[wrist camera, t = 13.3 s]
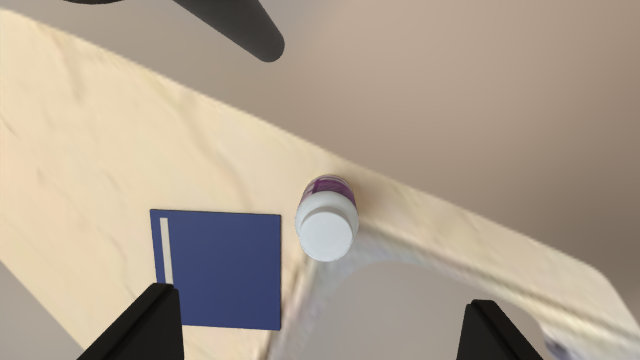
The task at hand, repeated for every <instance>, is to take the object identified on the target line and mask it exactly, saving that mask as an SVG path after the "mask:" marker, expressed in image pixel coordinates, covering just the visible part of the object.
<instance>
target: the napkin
mask: <svg viewBox="0 0 640 360" xmlns="http://www.w3.org/2000/svg"><path fill="white" fill-rule="evenodd" d="M150 219H151V229H152V238H153V248H154V258H155V268H156V278H157V283H170V284H173V286H174V288H176V289H178V291H179V298H180V310H181V322H182V325H190V326H208V327H225V328H243V329H260V330H278V331H280V215H270V214H247V213H224V212H200V211H177V210H154V209H151V210H150Z"/></svg>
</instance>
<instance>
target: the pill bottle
mask: <svg viewBox="0 0 640 360" xmlns="http://www.w3.org/2000/svg"><path fill="white" fill-rule="evenodd" d="M358 227H359V216H358V212H357V208H356V203H355V199H354V194H353V191H352V189H351V187H350V186H349V184H348V183H347V182H346V181H344V180H343V179H342V178H340V177H337V176H333V175H323V176H320V177H317V178H315V179H314V180H312V181H311V182H310V183H309V184H308V185H307V187H306V189H305V191H304V193H303V196H302V198H301V201H300V203H299V206H298V209H297V211H296V215H295V229H296V232H297V235H298V237H299V240H300V244H301V246H302V248H303V250H304V251H305V252H306V253H307V254H308V255H309V256H310V257H312V258H314V259H316V260H319V261H324V262H328V261H334V260H337V259H339V258H341V257H342V256H344V255H345V254H346V253H347V252H348V250H349V249H350V247H351V244H352V241H353V240H354V238H355V236H356V234H357V232H358Z"/></svg>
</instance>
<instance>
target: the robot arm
mask: <svg viewBox="0 0 640 360" xmlns="http://www.w3.org/2000/svg"><path fill="white" fill-rule="evenodd" d="M77 360H184V346H183V334H182V322H181V310H180V298H179V291H178V289H176V288H174V286H173V284H170V283H153V284H151V285H150V286H149V287H148V288H147V289H146V290H145V291H144V292H143V293H142V294H141V295H140V296H139V297H138V298H137V299H136V300H135V301H134V302H133V303H132V304H131V305H130V306H129V307H128V308H127V309H126V310H125V311H124V312H123V313H122V314H121V315H120V316H119V317H118V318H117V319H116V320H115V321H114V322H113V323H112V324H111V325H110V326H109V327H108V328H107V329H106V330H105V331H104V332H103V333H102V334H101V335H100V336H99V337H98V338H97V339H96V340H95V341H94V342H93V343H92V345H91V346H90V347H89V348H88V349H87V350H86V351H85V352H84V353H83V354H82V355H81V356H80V357H79V358H78V359H77ZM456 360H543V359H542V357H540V355H539V354H538V353H537V351H536V350H535V349H534V348H533V347H532V346H531V344H530V343H529V342H528V341H527V340H526V338H525V337H524V336H523V335H522V334H521V333H520V331H519V330H518V329H517V328H516V326H515V325H514V324H513V323H512V322H511V320H510V319H509V318H508V317H507V316H506V315H505V313H504V312H503V311H502V310H501V309H500V308H499V306H498V305H497V304H496V303H495V302H494V301H492V300H477V299H474V300H473V301H472V302H471V304H467V306H466V309H465V315H464V320H463V325H462V331H461V336H460V343H459V348H458V354H457V359H456Z"/></svg>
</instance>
